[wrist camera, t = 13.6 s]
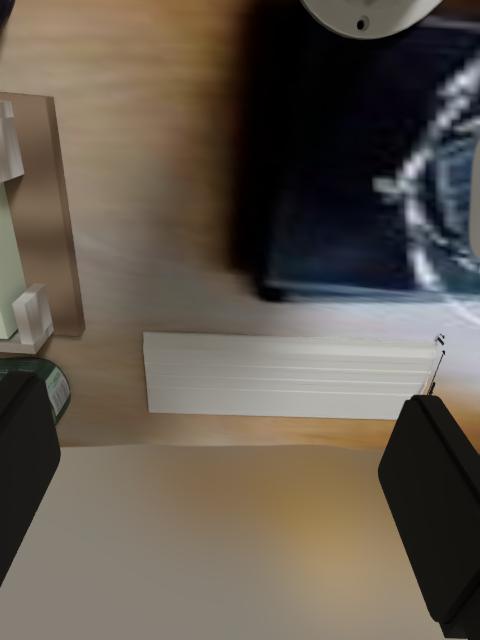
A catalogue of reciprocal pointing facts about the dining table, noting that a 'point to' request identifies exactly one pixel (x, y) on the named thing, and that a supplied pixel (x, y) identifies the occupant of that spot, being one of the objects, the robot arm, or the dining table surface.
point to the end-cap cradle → (38, 223)
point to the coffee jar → (49, 373)
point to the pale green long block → (8, 269)
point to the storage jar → (5, 10)
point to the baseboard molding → (284, 375)
